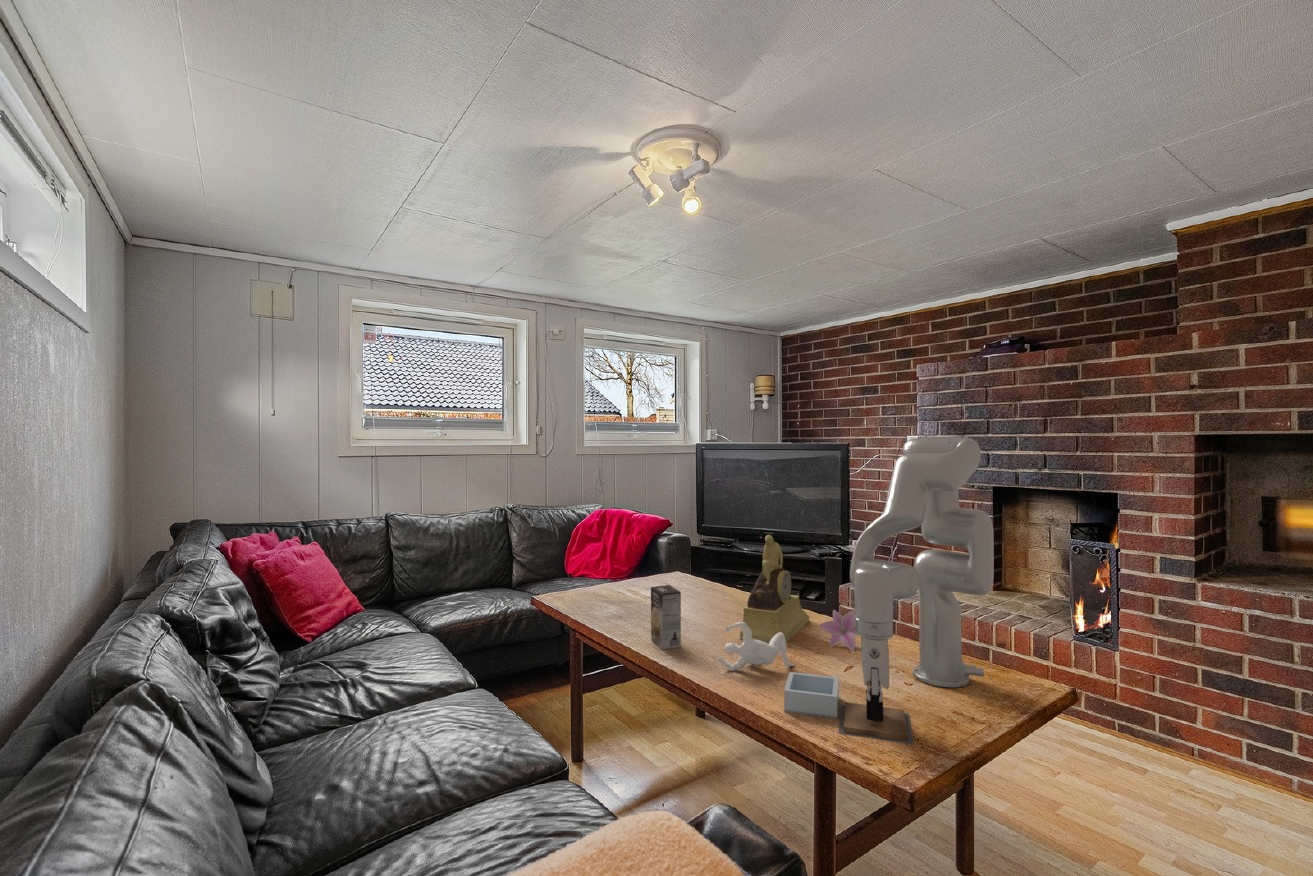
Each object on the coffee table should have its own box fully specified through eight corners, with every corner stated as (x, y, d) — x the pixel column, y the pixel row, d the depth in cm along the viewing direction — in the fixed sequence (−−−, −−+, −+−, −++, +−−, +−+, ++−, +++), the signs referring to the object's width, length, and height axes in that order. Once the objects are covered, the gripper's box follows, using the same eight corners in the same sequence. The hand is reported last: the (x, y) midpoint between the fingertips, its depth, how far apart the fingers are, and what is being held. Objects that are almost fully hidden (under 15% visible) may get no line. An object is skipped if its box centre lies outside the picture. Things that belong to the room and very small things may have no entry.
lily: (814, 643, 179) (813, 620, 174) (839, 622, 184) (839, 599, 180) (847, 667, 170) (847, 643, 165) (873, 644, 175) (874, 620, 171)
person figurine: (765, 616, 167) (726, 618, 154) (804, 636, 158) (766, 640, 145) (752, 660, 167) (712, 666, 155) (790, 683, 158) (751, 691, 146)
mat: (908, 714, 129) (908, 713, 129) (914, 746, 116) (914, 744, 116) (840, 706, 134) (840, 704, 134) (838, 735, 121) (838, 733, 121)
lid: (903, 714, 129) (903, 686, 129) (908, 740, 117) (907, 710, 117) (845, 706, 133) (844, 679, 133) (843, 731, 121) (843, 702, 121)
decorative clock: (781, 647, 173) (780, 542, 174) (739, 639, 180) (739, 539, 180) (809, 621, 198) (808, 530, 198) (771, 616, 204) (770, 527, 204)
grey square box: (838, 699, 137) (838, 677, 137) (837, 720, 127) (836, 697, 127) (789, 693, 141) (789, 672, 141) (784, 713, 131) (784, 690, 131)
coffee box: (650, 640, 180) (649, 586, 180) (669, 637, 182) (669, 584, 182) (661, 650, 171) (661, 593, 171) (682, 647, 173) (681, 591, 174)
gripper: (895, 641, 116) (896, 736, 116) (891, 617, 132) (892, 701, 132) (854, 637, 118) (855, 730, 118) (855, 614, 134) (856, 696, 134)
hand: (874, 714), depth 125 cm, fingers open, 4 cm apart
